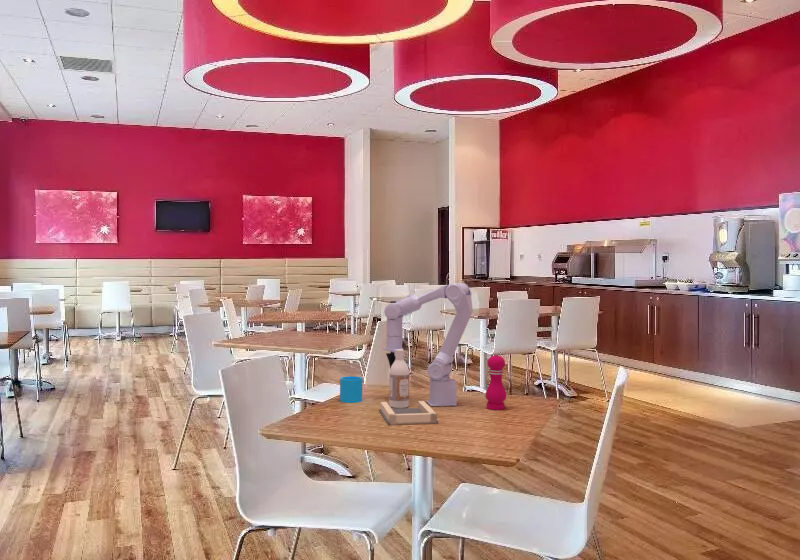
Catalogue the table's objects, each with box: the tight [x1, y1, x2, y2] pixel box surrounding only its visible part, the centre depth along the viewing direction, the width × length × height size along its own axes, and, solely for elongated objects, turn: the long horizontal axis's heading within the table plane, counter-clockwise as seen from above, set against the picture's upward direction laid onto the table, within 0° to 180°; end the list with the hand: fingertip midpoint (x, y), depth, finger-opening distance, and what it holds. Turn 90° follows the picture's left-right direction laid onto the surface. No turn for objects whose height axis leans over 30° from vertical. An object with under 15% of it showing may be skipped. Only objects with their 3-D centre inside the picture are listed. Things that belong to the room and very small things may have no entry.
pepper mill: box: [484, 350, 507, 411], centre depth 238 cm, size 7×7×20 cm
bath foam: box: [388, 348, 410, 409], centre depth 239 cm, size 7×7×20 cm
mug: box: [339, 375, 363, 404], centre depth 250 cm, size 12×8×8 cm
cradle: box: [378, 400, 439, 426], centre depth 224 cm, size 16×20×3 cm
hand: (394, 372), depth 250 cm, fingers closed
